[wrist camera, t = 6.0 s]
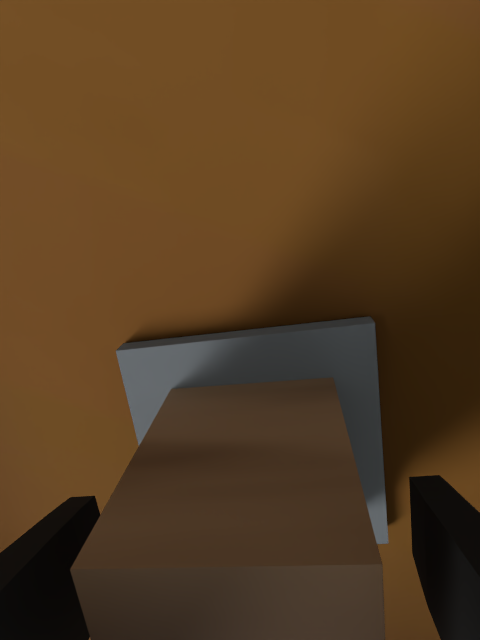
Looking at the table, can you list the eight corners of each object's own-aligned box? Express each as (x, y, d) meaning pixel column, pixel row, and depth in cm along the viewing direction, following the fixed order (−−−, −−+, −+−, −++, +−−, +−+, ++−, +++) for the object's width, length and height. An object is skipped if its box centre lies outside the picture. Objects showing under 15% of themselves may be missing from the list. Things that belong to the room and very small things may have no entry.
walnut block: (342, 515, 13) (390, 780, 7) (195, 519, 13) (129, 769, 8) (333, 377, 11) (382, 564, 6) (171, 388, 12) (70, 569, 6)
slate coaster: (383, 528, 13) (388, 543, 13) (169, 538, 14) (164, 552, 14) (370, 316, 12) (374, 323, 11) (123, 343, 12) (115, 350, 12)
